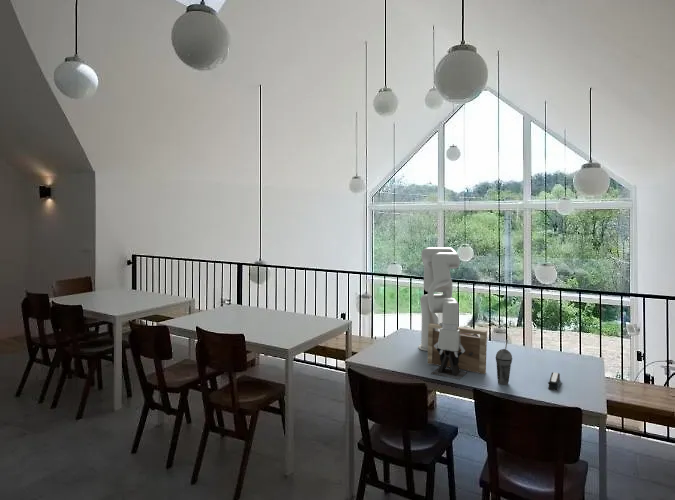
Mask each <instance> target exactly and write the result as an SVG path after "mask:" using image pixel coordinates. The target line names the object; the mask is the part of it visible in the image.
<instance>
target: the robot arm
mask: <svg viewBox="0 0 675 500" xmlns="http://www.w3.org/2000/svg"><path fill="white" fill-rule="evenodd" d="M420 255H421V261H422V265H423V290H424V291H425V292H427V294H423V295H422V296H421V297H420V301H419V302H420V303H419V304H420V310H421V337H420V338H421V339H420V341H421V342H420V344H419V345H418V346H417V347H418V349H419V350H421V351H424V352H428V324H430V323H434V324H439V325H440V326H442V328H441V329H437V328H435V331H440V332H439V339H438V342H437V343H436V344H435V345H434V347H435V348H436V349H437V351H438V352H439V354H440V360H441V363H442V360H443V358H444V355H445V354H444V351H445V350H446V349H447V350H446V351H449V350H450V351H452V352H454V353H455V357H454V365H457V364H458V363H459V356H460V355H461V354H462V353H464V352H465V351H466V350H465V348H464V347H463V346H462V345H461V337H460V331H459V330H458V327H459V316H460V315H459V307H460V305H459V302H458V300H457V299H456V298H454V297H453V280H452V275H451V272H450V270H452V269H453V270H455V269H458V268H459V267H460V264H461V259H460V256H459V253H458V252H457V251H456V250H455V249H454V248H452V247H440V246H439V247H435V246H433V247H429V246H428V247H425V248H423V249H422V250H421V254H420ZM438 293H439V294H438ZM437 314H442V315H441V316H442V318H441V322H439V316H438V315H437ZM439 344H440V345H439ZM460 349H461V352H459V350H460Z"/></svg>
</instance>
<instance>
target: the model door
mask: <svg viewBox="0 0 675 500" xmlns="http://www.w3.org/2000/svg"><path fill="white" fill-rule="evenodd" d="M439 324H440V323H438V324H434V323H430V324H428V351H427V364H429V365H436V366H439V367H437V368H436V369H434V370H433V371H431V372H430V374H431V375H436V376H441V377H444V378H445V377H446V378H449V379H455V380H461V379H462V378H463V377H464V376H466V374H467V373H468V372H472V373H473V372H474V373H477V374H481V375H485V374H486V373H487V346H488V345H487V344H488V330H485V329H480V328H479V329H477V328H471V327H468V328H464V327H465V326H458V330H459V331H460V332H465V333H473V334H477V335H479V337H474V336H468V335H461V334H460V337H461V345H462V346H463V347H464V348H465V350H466V351H465V352H464V353H462V354H461V355H460V356H459V363H458V366H459V369H460V373H458V374H457V375H456V376H454V375H449V374H443V373H438V370H439V368H440V365H441V360H440V354H439V352H438V351H437V349H436V348H435V347H434V345H435V344H436V343H437V342H438V339H439V332H440V329H441V328H442V326H440V325H439ZM435 328H437V329H438V331H435ZM439 345H440V344H439ZM459 352H461V349H460V350H459ZM444 354H445V353H444ZM446 369H448V370H451V366H450V361H449V360H448V363H447V367H446ZM467 371H468V372H467Z"/></svg>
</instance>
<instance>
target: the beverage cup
mask: <svg viewBox="0 0 675 500" xmlns="http://www.w3.org/2000/svg"><path fill="white" fill-rule="evenodd" d="M508 341H509V340H508V339H506V342H505V348H503V349H499V350H498V351H497V352H496V355H495V363H496V373H497V374H496V377H497V383H498V384H499V385H502V386H508V385H509V381H510V374H511V367H512V366H511V365H512V362H513V355H512V353H511V352H510V351H509V350H508V349H507V346H508Z"/></svg>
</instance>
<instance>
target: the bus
mask: <svg viewBox="0 0 675 500" xmlns="http://www.w3.org/2000/svg"><path fill="white" fill-rule="evenodd" d="M560 375H561V374H560V373H558V372H553V371H552V372H551V374H550V378H549V381H548V382H547V384H548V390H551V391H557V392H558V388H559V386H560V385H559V384H560V381H561V376H560Z"/></svg>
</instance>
